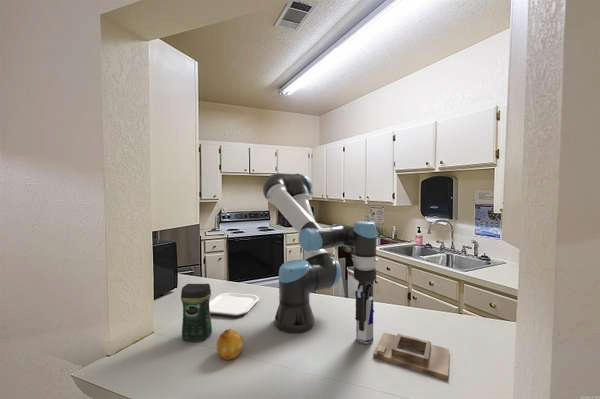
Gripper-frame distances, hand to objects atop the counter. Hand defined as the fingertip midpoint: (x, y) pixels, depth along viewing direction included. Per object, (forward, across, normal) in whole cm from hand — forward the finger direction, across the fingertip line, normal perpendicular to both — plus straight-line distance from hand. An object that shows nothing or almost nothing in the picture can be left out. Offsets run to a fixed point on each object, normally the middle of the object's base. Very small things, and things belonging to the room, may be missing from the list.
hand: (364, 334), depth 90 cm
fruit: (+2, -29, +34) cm, 45 cm away
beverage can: (+2, 0, 0) cm, 2 cm away
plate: (+2, -3, +59) cm, 59 cm away
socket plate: (+2, -1, -15) cm, 15 cm away
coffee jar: (+2, -27, +52) cm, 59 cm away
